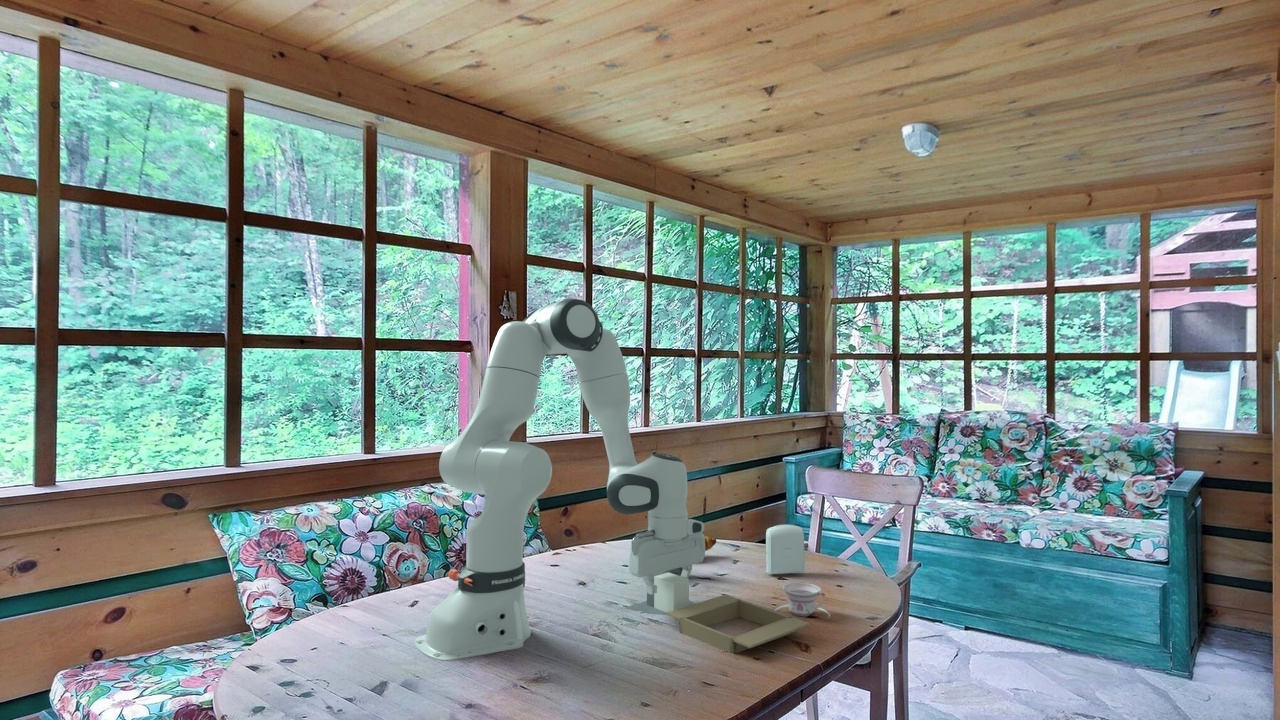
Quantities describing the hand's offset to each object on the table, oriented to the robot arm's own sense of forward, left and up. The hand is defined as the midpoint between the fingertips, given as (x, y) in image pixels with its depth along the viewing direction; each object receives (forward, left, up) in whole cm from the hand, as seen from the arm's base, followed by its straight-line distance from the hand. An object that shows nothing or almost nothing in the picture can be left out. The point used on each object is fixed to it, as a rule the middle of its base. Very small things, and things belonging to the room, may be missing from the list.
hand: (667, 588), depth 161 cm
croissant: (+34, +33, -5) cm, 47 cm away
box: (0, 0, -4) cm, 4 cm away
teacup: (+21, -21, -5) cm, 30 cm away
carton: (0, -21, -5) cm, 21 cm away
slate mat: (0, 0, -5) cm, 5 cm away
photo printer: (+43, +1, -5) cm, 43 cm away
